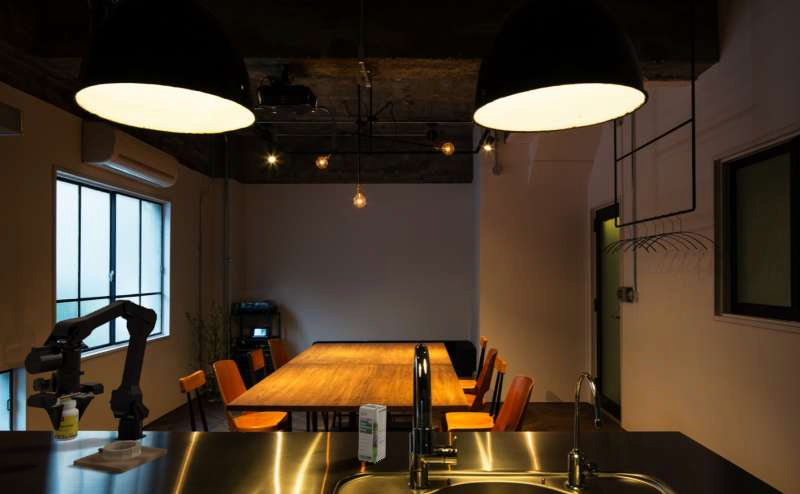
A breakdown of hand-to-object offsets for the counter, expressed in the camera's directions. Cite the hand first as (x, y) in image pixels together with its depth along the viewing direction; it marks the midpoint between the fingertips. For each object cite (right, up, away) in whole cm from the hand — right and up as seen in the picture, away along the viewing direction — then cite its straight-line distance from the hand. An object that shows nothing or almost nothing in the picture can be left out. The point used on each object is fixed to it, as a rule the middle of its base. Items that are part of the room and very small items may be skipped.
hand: (66, 426), depth 146 cm
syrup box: (+81, -11, +5) cm, 82 cm away
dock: (+14, -10, +2) cm, 17 cm away
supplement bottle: (0, -3, 0) cm, 3 cm away
